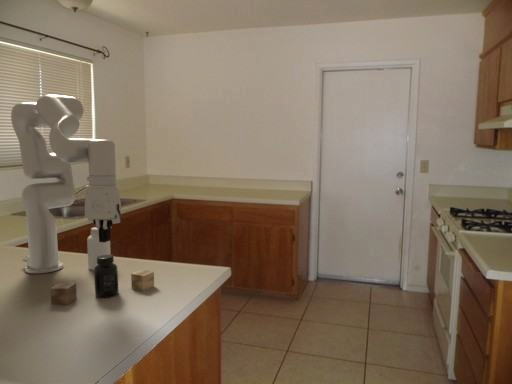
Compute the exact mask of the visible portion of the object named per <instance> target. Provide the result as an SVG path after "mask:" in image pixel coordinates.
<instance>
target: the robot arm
mask: <svg viewBox="0 0 512 384" xmlns="http://www.w3.org/2000/svg"><path fill="white" fill-rule="evenodd" d="M10 112H11V113H10V120H11V124H12V128H13V131H14V133H15V135H16V137H17V140H18V143H19V150H20V157H21V158H20V159H21V164H22V170H23V173H24V176H25V177H26V178H27V179H29V180H48V179H51V180H52V179H54V180H55V182H54V181H52V182H39V183H38V182H36V183H31V184H28V185H27V186H25V187H24V188H23V189H22V193H21V198H22V202H23V206H24V211H25V216H26V228H27V229H26V230H27V245H28V246H27V247H28V254H27V255H25V257H23V258H22V262H23V263H27V264H26V266H25V267H24V272H25V273H27V274H34V275H35V274H37V275H38V274H47V273H48V274H49V273H53V272H56V271H59V270H60V269H62V268H64V263H63V261H60V260H59V248H58V229H57V228H58V227H57V220H56V218H55V216H54V214H53V213H51V211H50V209H57V208H64V207H65V208H66V207H70V206H71V205H72V204H73V203H74V202H75V199H76V193H75V184H74V177H73V168H72V164H75V165H76V164H88V176H87V177H86V181H87V182H88V183H89V184H88V185H87V186H86V190H85V194H84V195H85V196H84V216H85V218H87V220H88V222H91V223H93V224H94V225H95V227H96V228H97V229H99V242H107V241H110V242H111V229H112V227H113V226H114V225H115V224H119V223H121V218H120V217H121V216H122V203H121V197H120V190H119V186H118V185H117V178H116V177H117V172H116V171H117V170H116V167H117V166H116V146H115V145H116V144H115V142H114V140H111V139H100V138H86V137H85V138H80V137H79V138H77V137H75V138H73V137H72V136H74V135H75V134H76V133H77V132H78V131H79V128H80V126H81V125H80V124H81V123H80V120H81V119H82V118H83V115H84V106H83V103H82V102H81V101H80V100H79V99H78V98H77V97H74V96H69V95H60V94H45V95H42V96H40V97H39V98H38V99H37V100H36V101H35V102H32V101H27V102H26V101H23V102H18V103H16V104H15V105H14V106H13V107H12V109H11V111H10ZM37 128H50V131H49V134H48V140H49V145H50V146H49V147H50V149H51V150H52V152H49V151H48V147H47V142H46V139H45V137H44V135H43V134H42V133H41V131H39V130H38V129H37ZM71 137H72V138H71Z"/></svg>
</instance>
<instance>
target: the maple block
mask: <svg viewBox="0 0 512 384" xmlns="http://www.w3.org/2000/svg"><path fill="white" fill-rule="evenodd" d="M130 274H131V275H130V276H131V277H130V279H131V281H130V282H131V283H130V284H131V289H132V288H133V289H134V290H136V289H137V290H138V291H142V292H145V291H147V290H149V289H152V288H154V287H155V272H154V271H152V270H147V269H139V270H137V271H134V272H132V273H130ZM153 286H154V287H153ZM151 287H152V288H151ZM133 289H132V290H133Z"/></svg>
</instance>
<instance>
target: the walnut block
mask: <svg viewBox="0 0 512 384" xmlns="http://www.w3.org/2000/svg"><path fill="white" fill-rule="evenodd" d="M75 300H77V283H76V282H58V283H56V284H55V285H54V286H52V287H50V303H51V304H50V305H52V306H70V304H72V303H73V302H75Z"/></svg>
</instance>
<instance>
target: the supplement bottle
mask: <svg viewBox="0 0 512 384" xmlns="http://www.w3.org/2000/svg"><path fill="white" fill-rule="evenodd" d="M114 262H115V261H114V255H113V254H111V255H101V256H98V257H97V264H98V265H97V266H95V268H94V270H93V275H94V277H93V278H94V279H93V281H94V293H95V296H96V297H97V298H101V299H104V298H105V299H106V298H113V297H115V296H116V295H118V294H119V275H118V274H119V273H118V272H119V271H118V266H117V264H116V263H114Z"/></svg>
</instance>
